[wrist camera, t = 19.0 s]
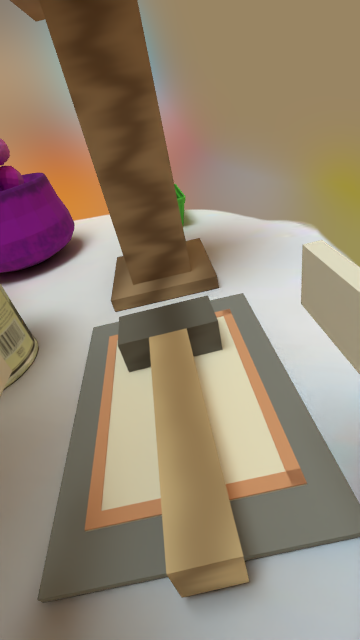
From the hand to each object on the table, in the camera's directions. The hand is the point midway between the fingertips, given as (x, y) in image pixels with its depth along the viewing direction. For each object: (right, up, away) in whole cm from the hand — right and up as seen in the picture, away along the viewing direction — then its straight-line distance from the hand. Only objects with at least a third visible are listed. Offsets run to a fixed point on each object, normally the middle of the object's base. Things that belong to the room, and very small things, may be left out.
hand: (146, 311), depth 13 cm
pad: (+1, -6, +11) cm, 13 cm away
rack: (-1, +5, +27) cm, 28 cm away
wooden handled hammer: (+2, -7, +9) cm, 11 cm away
